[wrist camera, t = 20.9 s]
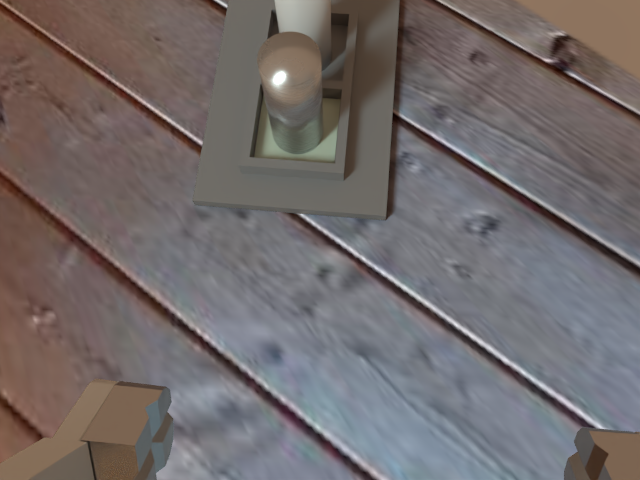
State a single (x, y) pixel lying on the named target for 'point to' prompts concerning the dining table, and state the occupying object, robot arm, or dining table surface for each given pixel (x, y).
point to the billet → (293, 90)
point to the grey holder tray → (338, 112)
